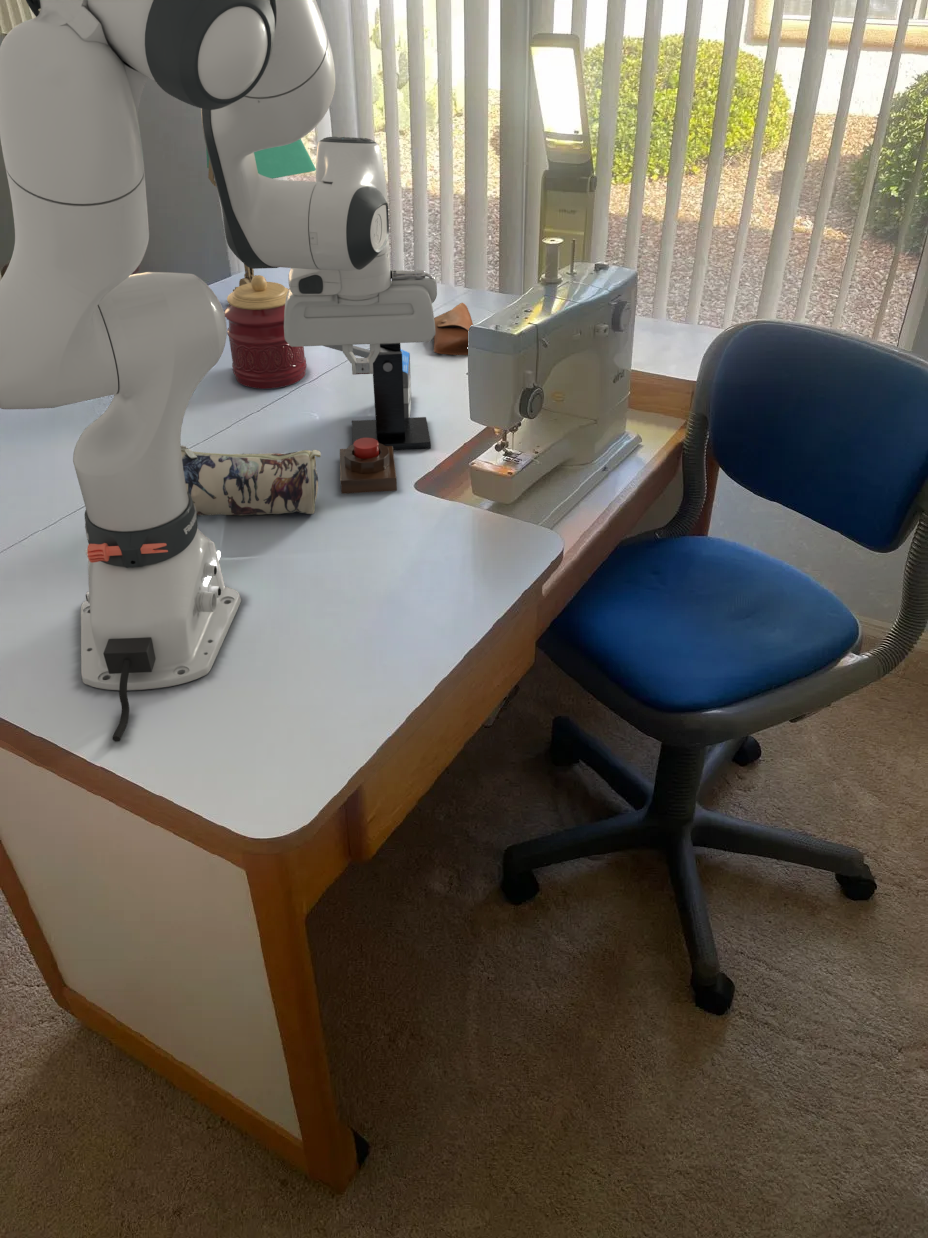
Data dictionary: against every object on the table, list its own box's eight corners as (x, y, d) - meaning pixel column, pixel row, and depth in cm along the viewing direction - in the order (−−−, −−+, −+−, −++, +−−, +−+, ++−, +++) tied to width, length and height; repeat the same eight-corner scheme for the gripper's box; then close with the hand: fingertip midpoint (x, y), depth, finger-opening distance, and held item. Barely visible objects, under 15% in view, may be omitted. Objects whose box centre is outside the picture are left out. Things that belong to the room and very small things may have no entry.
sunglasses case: (426, 318, 194) (442, 289, 191) (456, 335, 197) (473, 306, 194) (433, 353, 180) (451, 322, 177) (465, 370, 183) (483, 340, 179)
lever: (287, 346, 140) (291, 330, 139) (288, 332, 144) (292, 317, 143) (394, 376, 145) (399, 361, 144) (392, 362, 149) (397, 347, 148)
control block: (397, 491, 140) (395, 466, 138) (341, 494, 140) (339, 469, 137) (393, 458, 148) (392, 434, 146) (340, 461, 147) (338, 437, 145)
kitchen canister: (220, 374, 174) (204, 274, 163) (281, 355, 181) (270, 258, 170) (259, 396, 166) (245, 293, 155) (321, 376, 173) (312, 276, 162)
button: (379, 458, 140) (378, 448, 139) (354, 460, 140) (353, 449, 139) (378, 447, 143) (377, 436, 142) (354, 448, 143) (353, 437, 142)
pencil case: (163, 526, 133) (149, 462, 127) (178, 495, 139) (165, 433, 134) (323, 526, 133) (316, 462, 127) (330, 495, 139) (324, 433, 133)
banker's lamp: (279, 292, 208) (258, 111, 187) (333, 319, 195) (317, 128, 174) (213, 309, 200) (183, 121, 179) (265, 338, 187) (239, 140, 166)
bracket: (353, 453, 150) (346, 361, 141) (352, 427, 157) (345, 338, 148) (430, 449, 151) (428, 357, 142) (426, 423, 158) (423, 335, 149)
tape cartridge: (410, 421, 158) (407, 349, 151) (386, 422, 158) (382, 349, 151) (412, 398, 165) (409, 328, 158) (389, 398, 165) (385, 328, 158)
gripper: (434, 261, 129) (435, 360, 137) (279, 265, 127) (290, 365, 136) (438, 277, 124) (439, 379, 133) (277, 282, 122) (288, 385, 131)
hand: (362, 372), depth 134 cm, fingers closed
